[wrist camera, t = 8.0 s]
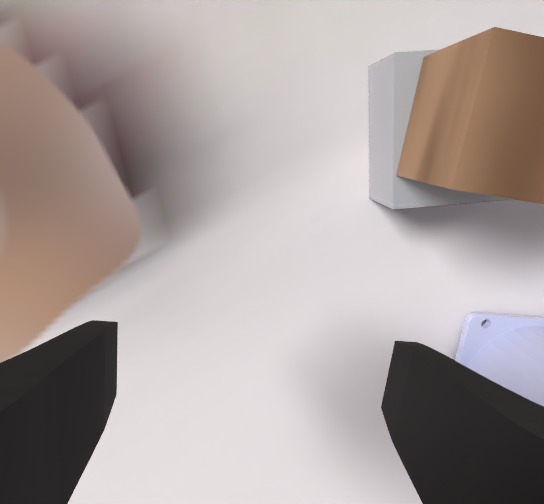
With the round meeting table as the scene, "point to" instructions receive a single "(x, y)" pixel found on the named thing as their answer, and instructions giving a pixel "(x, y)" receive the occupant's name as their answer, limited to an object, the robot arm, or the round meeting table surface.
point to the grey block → (400, 137)
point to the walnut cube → (480, 117)
